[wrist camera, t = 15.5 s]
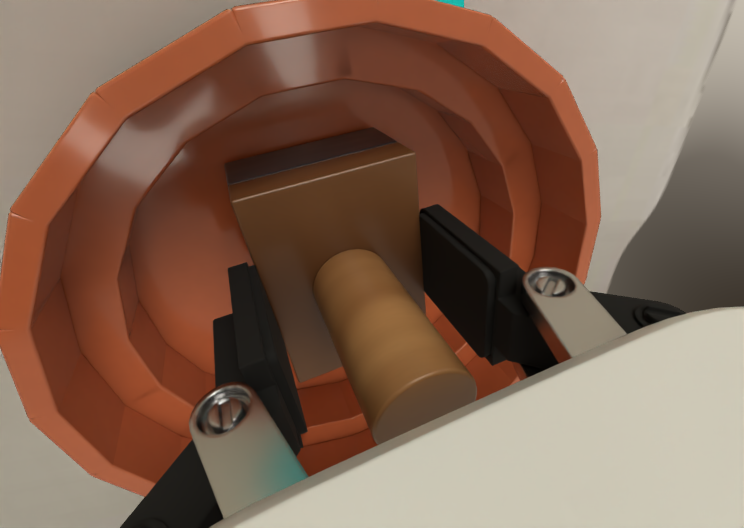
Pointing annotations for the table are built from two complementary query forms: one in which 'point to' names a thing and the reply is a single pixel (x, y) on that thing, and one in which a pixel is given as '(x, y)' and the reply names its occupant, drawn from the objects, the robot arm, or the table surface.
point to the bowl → (221, 229)
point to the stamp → (350, 273)
